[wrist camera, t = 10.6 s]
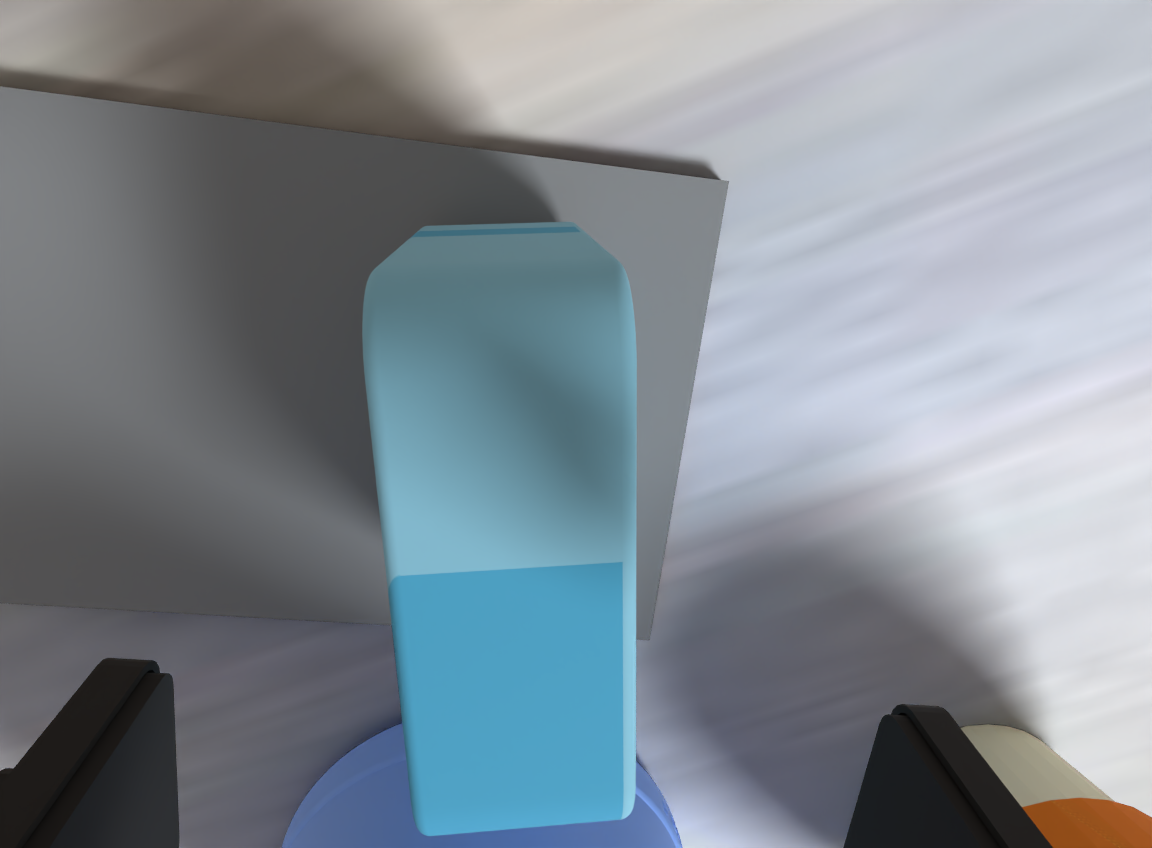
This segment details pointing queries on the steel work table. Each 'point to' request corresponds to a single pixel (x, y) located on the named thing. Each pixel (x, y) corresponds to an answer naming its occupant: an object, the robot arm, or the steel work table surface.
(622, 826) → the water jug
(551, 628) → the data package
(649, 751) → the steel work table surface
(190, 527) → the mat
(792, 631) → the steel work table surface
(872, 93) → the steel work table surface
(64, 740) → the robot arm
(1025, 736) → the reusable coffee cup
